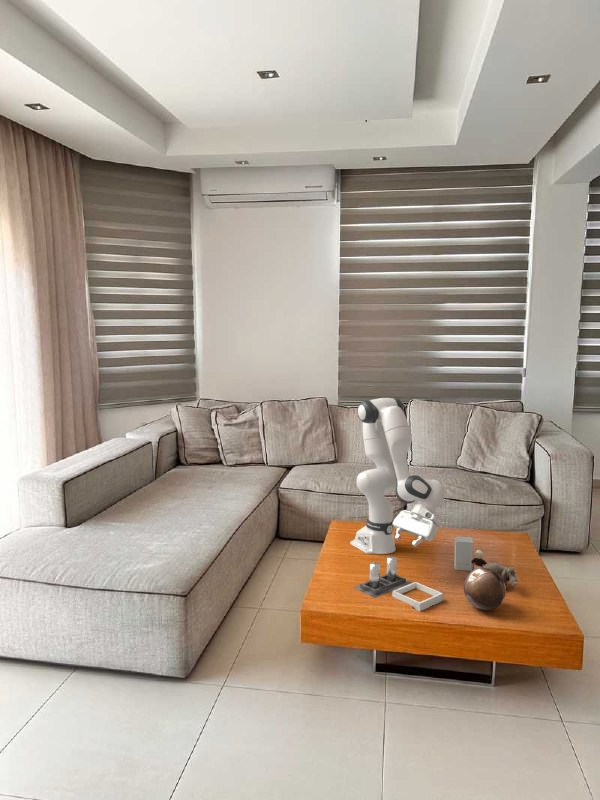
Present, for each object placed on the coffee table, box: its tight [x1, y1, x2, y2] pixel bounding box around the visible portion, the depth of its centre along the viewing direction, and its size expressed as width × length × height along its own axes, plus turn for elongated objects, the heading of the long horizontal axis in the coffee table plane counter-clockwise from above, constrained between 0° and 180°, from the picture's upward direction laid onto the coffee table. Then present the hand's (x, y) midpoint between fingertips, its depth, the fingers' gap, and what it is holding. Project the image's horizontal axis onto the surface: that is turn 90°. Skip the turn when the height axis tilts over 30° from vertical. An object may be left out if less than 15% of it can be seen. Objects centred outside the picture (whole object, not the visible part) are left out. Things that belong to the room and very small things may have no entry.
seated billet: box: [369, 561, 381, 589], centre depth 238 cm, size 4×4×10 cm
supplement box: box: [453, 536, 474, 572], centre depth 261 cm, size 7×7×13 cm
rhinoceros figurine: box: [483, 562, 519, 592], centre depth 242 cm, size 8×14×15 cm
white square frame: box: [391, 581, 444, 612], centre depth 230 cm, size 14×14×3 cm
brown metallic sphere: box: [463, 568, 507, 611], centre depth 223 cm, size 15×15×15 cm
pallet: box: [353, 573, 414, 599], centre depth 242 cm, size 12×22×2 cm, turn 129°
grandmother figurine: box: [470, 549, 488, 570], centre depth 248 cm, size 8×4×13 cm, turn 68°
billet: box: [386, 555, 398, 582], centre depth 244 cm, size 4×4×10 cm
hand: (405, 542), depth 249 cm, fingers open, 8 cm apart
